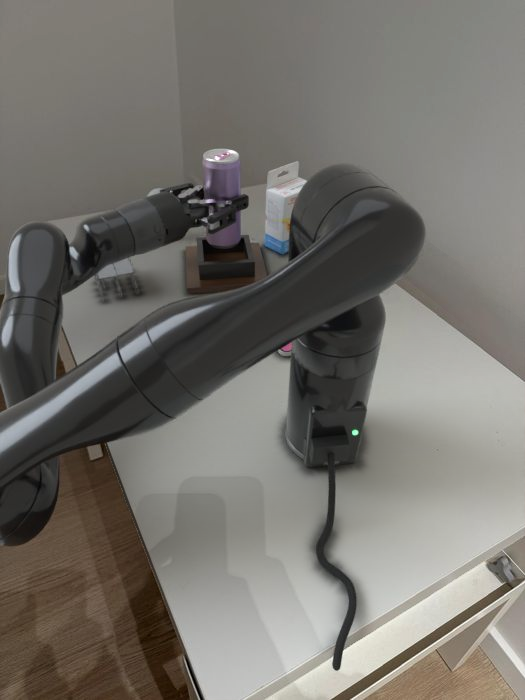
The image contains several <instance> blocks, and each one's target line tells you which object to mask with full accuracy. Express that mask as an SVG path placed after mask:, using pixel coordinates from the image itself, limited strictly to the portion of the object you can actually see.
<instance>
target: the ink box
mask: <svg viewBox="0 0 525 700" xmlns="http://www.w3.org/2000/svg"><path fill="white" fill-rule="evenodd" d="M299 167H300V161H298V160H296V161H294V162H291V163H288V164H285V165H282V166H280V167H277V168H274V169H272V170H269V171H268V172H267V179H266V188H265V189H266V191H265V223H264V224H265V227H264V230H265V233H264V247H266V248H268V249H270V250H272V251H274V252H275V253H278V254H280V255H282V256H283V255H285V254H287V253H289V227H290V219H291V213H292V209H293V206H294V203H295V200H296V198H297V196H298V194H299V192H300V190H301V189H302V187H303V186H304V184H305V183H306V182H307V181H308V180H306V179H304V178H302V177H300V176H299ZM283 172H285V173H286V172H287V174H284V175H281V174H282V173H283ZM279 175H281V176H279Z"/></svg>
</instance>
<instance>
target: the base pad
mask: <svg viewBox="0 0 525 700" xmlns="http://www.w3.org/2000/svg"><path fill="white" fill-rule="evenodd" d="M184 248H185V269H186V271H185V274H186V290H187V295H193V294H211V293H217V292H223V291H228V290H232V289H237V288H240V287H243V286H246V285H250V284H252V283H254V282H256V281H259V280H261V279H263V278H265V277H266V276H268V273H267V269H266V264H265V262H264V257H263V253H262V249H261V246H260V242H251V238H250V235H249V234H241V240H240V241H239V243H238V244H237V245H236V246H234V247H232V248H227V249H220V248H215V247H213V246H211V245H210V244H209V243H208V241H207V239H206V236H200V237H199V236H198V237H196V245H191V246H190V245H189V246H185V247H184Z"/></svg>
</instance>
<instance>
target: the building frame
mask: <svg viewBox="0 0 525 700" xmlns="http://www.w3.org/2000/svg"><path fill="white" fill-rule="evenodd" d="M134 269H135V268H134V264H133V263H132V261H131V259H130V257H129V258H127V259H124V260H122V261H119V262H116V263H113V264H110V265H108V266H106V267H105V268H103V269H102V270H101V271H99V272H98V273H97V274H96V275H94V276H93V277H94V278H95V283H96V285H97V289H98V292H99V296H101V298H102V301H103V302H105V300H104V291H103V288H102V285H103V287H104V289H106V286H105V285H106V284H105V280H109V279H113V280H114V283H115V285H116V290H117V292H118V295H119V297H121V296H123V292H122V288H121V284H120V282H119V277H123V276H129V279H130V281H131V283H132V286H133V288H134V289H135V291H137V290H139V285H138V281H137V280H136V276H135V270H134ZM101 282H102V285H101ZM139 294H140V292H139V291H137V292H135V295H139Z"/></svg>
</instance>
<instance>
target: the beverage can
mask: <svg viewBox="0 0 525 700" xmlns="http://www.w3.org/2000/svg"><path fill="white" fill-rule="evenodd" d="M201 164H202V166H201V167H202V181H203V185H202V186H204V200H207V199H215V200H216V201H226V200H228V199H231V198H234V197H237V196H240V195H242V194H241V193H242V191H241V189H242V188H241V187H242V186H241V184H242V183H241V181H242V180H241V179H242V178H241V173H242V172H241V160H240V153H238V152H237V151H236V150H233V149H229V148H213V149H210V150H207V151H205V152H204V153H203V155H202V161H201ZM222 209H224V207H219V208H218V211H220V210H222ZM210 213H212V206H209V216H210ZM227 219H228V218H227ZM241 225H242V210H241V211H238V212H236V222H235V223H234V224H232V225H230V226H228V227H226V228H224V229H222V230H220V231H218V232H216V233H215V234H209V233H208V228H206V227H205V237H206V239H207V241H208V243H209V244H210V245H211V246H213V247H215V248H220V249H227V248H232V247H234V246H236V245H237V244H238V243H239V241H240V240H241V235H242V226H241Z"/></svg>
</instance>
